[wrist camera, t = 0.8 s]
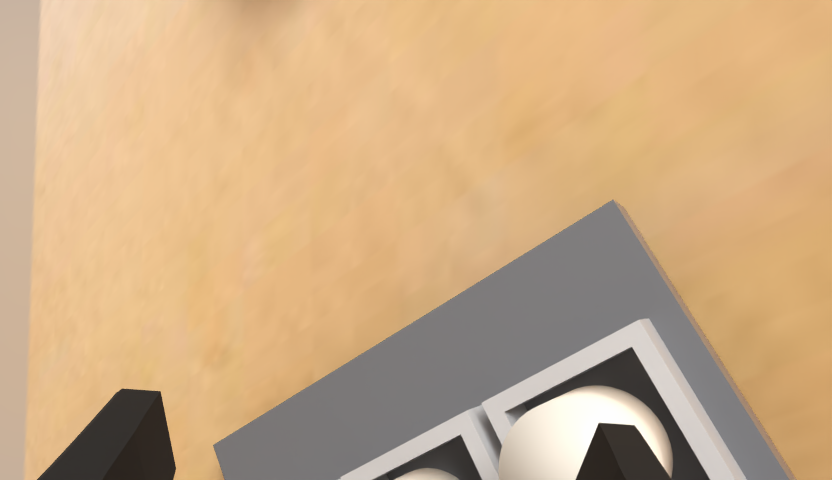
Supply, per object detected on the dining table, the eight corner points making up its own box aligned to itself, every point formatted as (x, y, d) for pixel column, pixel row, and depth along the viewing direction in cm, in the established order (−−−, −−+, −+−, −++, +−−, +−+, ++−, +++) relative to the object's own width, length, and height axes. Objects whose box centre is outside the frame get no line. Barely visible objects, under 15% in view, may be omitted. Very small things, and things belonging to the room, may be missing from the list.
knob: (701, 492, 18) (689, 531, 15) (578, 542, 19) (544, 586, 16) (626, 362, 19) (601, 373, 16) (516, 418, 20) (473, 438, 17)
